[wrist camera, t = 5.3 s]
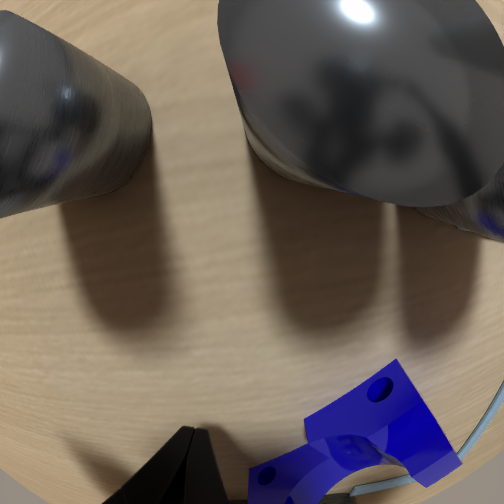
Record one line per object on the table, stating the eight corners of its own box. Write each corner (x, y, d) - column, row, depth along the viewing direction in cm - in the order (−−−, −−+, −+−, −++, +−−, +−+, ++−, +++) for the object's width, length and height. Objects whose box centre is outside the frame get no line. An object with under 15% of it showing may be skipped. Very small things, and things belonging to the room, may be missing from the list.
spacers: (479, 104, 6) (592, 88, 1) (343, 514, 12) (354, 570, 7) (59, 73, 6) (-55, 36, 1) (138, 503, 12) (122, 558, 7)
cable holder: (393, 355, 9) (443, 434, 5) (423, 398, 9) (462, 463, 6) (226, 452, 10) (217, 527, 6) (276, 479, 11) (278, 544, 7)
